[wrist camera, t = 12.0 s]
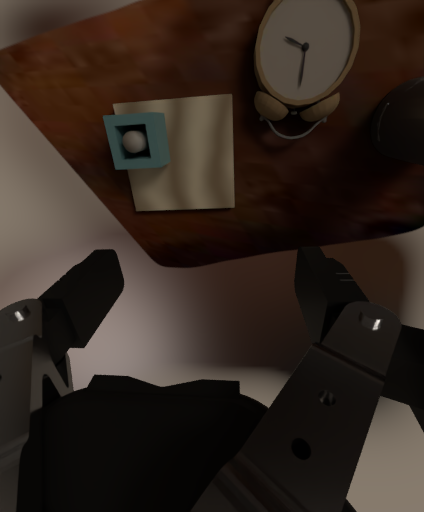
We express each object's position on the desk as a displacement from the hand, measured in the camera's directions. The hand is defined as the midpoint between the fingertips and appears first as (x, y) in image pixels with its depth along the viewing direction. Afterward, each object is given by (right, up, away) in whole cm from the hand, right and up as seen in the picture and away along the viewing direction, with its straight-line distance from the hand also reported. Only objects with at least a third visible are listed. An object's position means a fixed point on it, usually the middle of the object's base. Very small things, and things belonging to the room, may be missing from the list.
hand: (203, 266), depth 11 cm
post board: (-4, +15, +26) cm, 31 cm away
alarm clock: (+11, +24, +21) cm, 33 cm away
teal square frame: (-9, +17, +23) cm, 30 cm away
